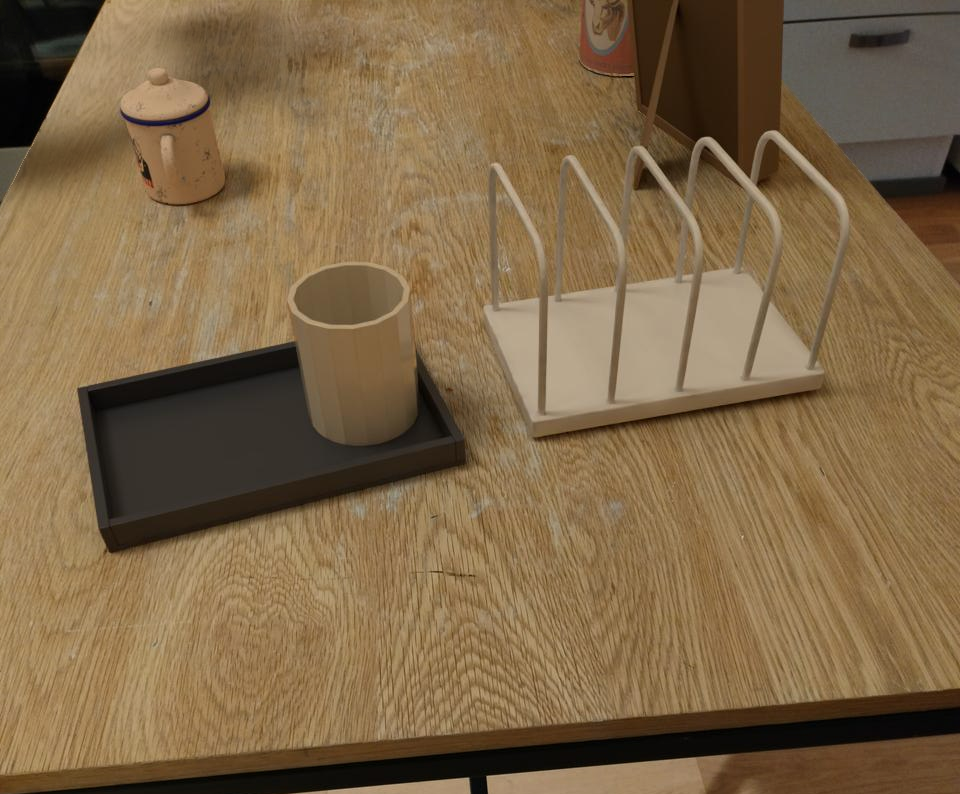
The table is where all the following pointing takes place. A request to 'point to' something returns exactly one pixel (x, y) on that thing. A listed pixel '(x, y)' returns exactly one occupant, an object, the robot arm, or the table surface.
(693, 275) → the file sorter
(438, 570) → the table surface
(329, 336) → the cream cup
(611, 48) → the canned food
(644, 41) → the photo frame
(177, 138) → the teacup with lid
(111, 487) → the tray
